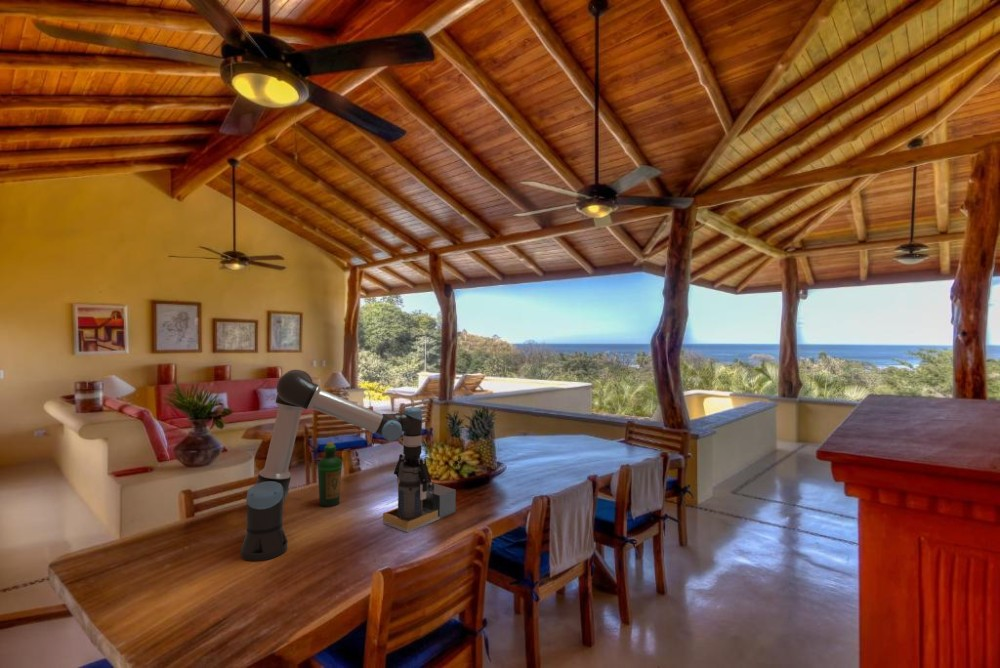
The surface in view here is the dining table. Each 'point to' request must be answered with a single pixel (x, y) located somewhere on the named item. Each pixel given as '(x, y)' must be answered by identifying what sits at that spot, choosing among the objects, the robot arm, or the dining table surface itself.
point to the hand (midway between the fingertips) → (411, 495)
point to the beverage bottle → (409, 492)
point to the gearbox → (426, 509)
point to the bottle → (329, 476)
